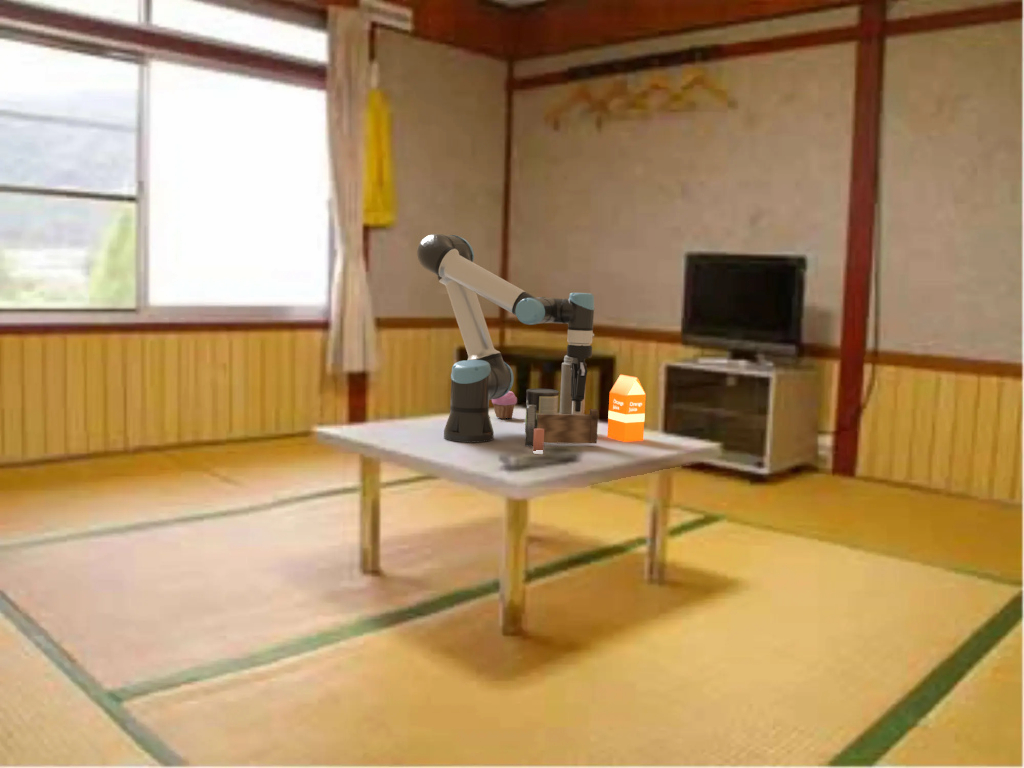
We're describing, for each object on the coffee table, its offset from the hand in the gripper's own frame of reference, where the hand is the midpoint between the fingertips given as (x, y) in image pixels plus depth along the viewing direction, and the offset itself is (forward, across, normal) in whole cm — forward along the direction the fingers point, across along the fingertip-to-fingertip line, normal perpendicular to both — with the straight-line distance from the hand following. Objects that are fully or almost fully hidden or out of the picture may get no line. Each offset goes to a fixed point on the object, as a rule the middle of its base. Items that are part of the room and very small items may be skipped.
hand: (576, 421), depth 286 cm
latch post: (+6, -18, +15) cm, 24 cm away
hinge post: (+6, -6, +15) cm, 17 cm away
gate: (+5, -6, +4) cm, 9 cm away
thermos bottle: (+7, +19, -3) cm, 20 cm away
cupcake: (+7, +45, +16) cm, 48 cm away
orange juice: (+7, +8, -18) cm, 21 cm away
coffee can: (+7, +13, +8) cm, 17 cm away
